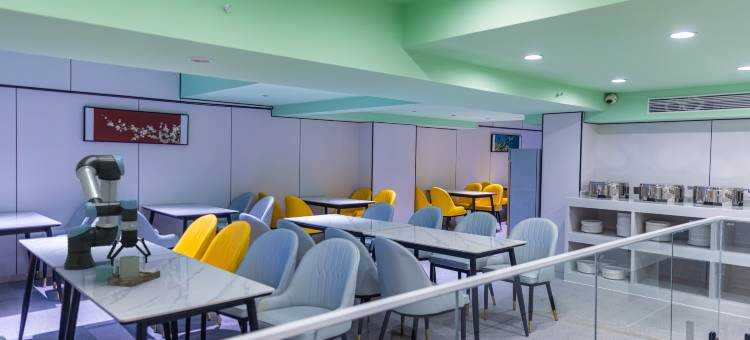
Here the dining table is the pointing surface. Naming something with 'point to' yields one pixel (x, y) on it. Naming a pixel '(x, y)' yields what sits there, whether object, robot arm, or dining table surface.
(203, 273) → the dining table surface
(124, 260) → the can
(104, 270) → the wing block
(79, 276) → the dining table surface
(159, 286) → the dining table surface
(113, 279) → the cradle jig
